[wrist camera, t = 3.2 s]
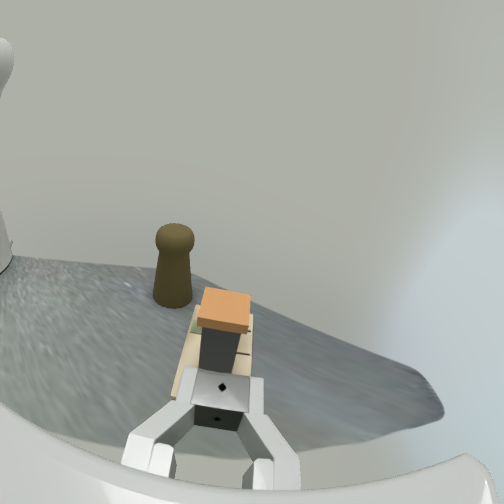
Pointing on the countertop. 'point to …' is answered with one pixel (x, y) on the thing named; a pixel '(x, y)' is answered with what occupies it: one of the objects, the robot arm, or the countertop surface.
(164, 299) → the cork
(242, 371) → the fader board
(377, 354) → the countertop surface
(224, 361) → the fader knob
